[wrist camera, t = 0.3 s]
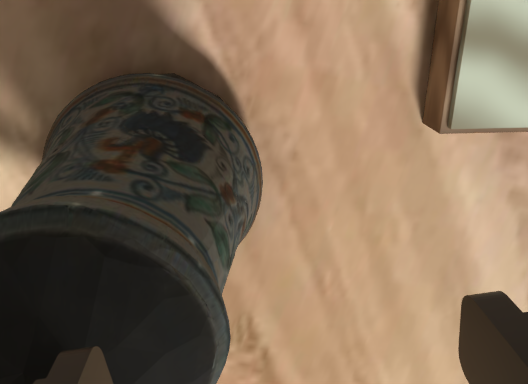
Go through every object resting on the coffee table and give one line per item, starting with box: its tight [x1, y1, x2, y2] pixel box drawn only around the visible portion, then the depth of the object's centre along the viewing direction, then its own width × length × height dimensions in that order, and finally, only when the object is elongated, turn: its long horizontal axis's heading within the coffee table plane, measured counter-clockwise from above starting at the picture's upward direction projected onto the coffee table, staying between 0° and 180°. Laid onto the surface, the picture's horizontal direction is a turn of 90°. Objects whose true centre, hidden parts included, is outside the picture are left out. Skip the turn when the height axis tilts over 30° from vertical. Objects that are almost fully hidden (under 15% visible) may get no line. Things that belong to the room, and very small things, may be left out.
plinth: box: [423, 0, 528, 134], centre depth 33 cm, size 12×12×4 cm
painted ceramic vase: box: [0, 73, 263, 384], centre depth 26 cm, size 16×19×25 cm
